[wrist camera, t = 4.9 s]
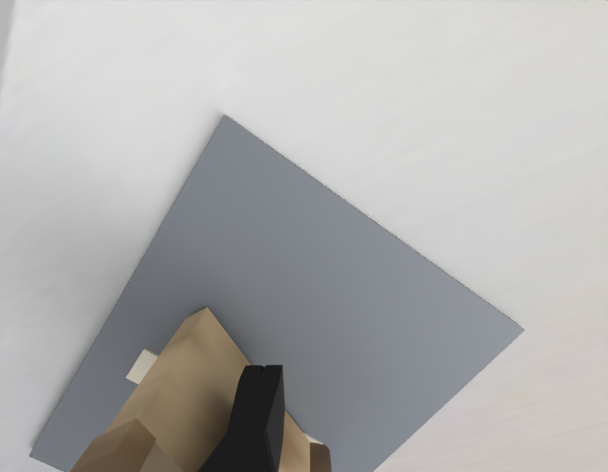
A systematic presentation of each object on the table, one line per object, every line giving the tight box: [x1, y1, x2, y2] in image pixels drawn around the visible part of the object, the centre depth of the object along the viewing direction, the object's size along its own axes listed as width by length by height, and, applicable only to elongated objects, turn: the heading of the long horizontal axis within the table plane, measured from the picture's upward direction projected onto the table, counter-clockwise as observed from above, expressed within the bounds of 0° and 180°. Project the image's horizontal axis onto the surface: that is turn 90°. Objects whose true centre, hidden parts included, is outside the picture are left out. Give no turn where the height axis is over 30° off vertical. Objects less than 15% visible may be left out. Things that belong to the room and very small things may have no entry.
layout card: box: [29, 115, 525, 472], centre depth 15 cm, size 21×16×1 cm
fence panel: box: [70, 307, 310, 472], centre depth 11 cm, size 9×1×6 cm, turn 30°
